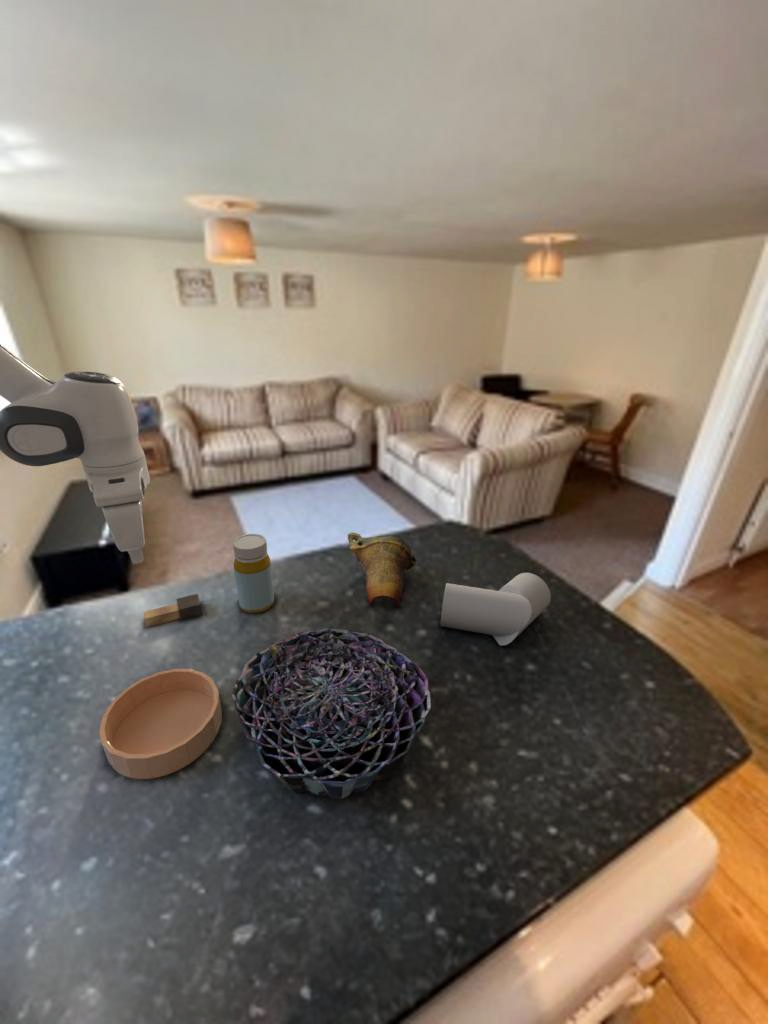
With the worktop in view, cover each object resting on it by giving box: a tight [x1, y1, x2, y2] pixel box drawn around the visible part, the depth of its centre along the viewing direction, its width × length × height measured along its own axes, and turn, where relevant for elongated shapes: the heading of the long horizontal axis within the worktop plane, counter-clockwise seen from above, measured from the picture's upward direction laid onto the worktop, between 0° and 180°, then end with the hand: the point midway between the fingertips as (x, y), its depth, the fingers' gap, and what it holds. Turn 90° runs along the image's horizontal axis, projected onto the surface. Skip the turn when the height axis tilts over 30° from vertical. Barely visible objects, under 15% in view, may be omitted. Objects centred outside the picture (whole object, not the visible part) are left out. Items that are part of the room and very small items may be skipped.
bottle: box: [232, 533, 275, 614], centre depth 89 cm, size 7×7×15 cm
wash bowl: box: [98, 668, 223, 780], centre depth 64 cm, size 15×15×4 cm
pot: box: [347, 532, 418, 608], centre depth 98 cm, size 17×11×18 cm
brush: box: [143, 593, 204, 628], centre depth 87 cm, size 10×4×3 cm, turn 118°
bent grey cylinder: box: [440, 572, 552, 646], centre depth 87 cm, size 18×11×20 cm
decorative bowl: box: [231, 627, 432, 800], centre depth 64 cm, size 26×28×10 cm
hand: (137, 548), depth 79 cm, fingers open, 8 cm apart
